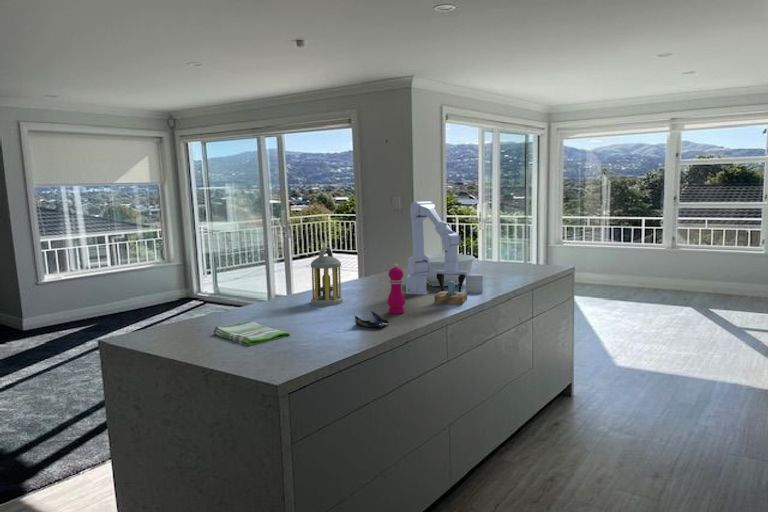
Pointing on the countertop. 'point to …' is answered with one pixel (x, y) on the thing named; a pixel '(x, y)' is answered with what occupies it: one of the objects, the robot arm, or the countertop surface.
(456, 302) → the socket block
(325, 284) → the lantern
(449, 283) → the peg
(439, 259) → the bowl
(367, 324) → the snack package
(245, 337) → the dish towel
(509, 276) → the countertop surface
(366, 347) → the countertop surface
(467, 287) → the medicine box
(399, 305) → the pepper mill
